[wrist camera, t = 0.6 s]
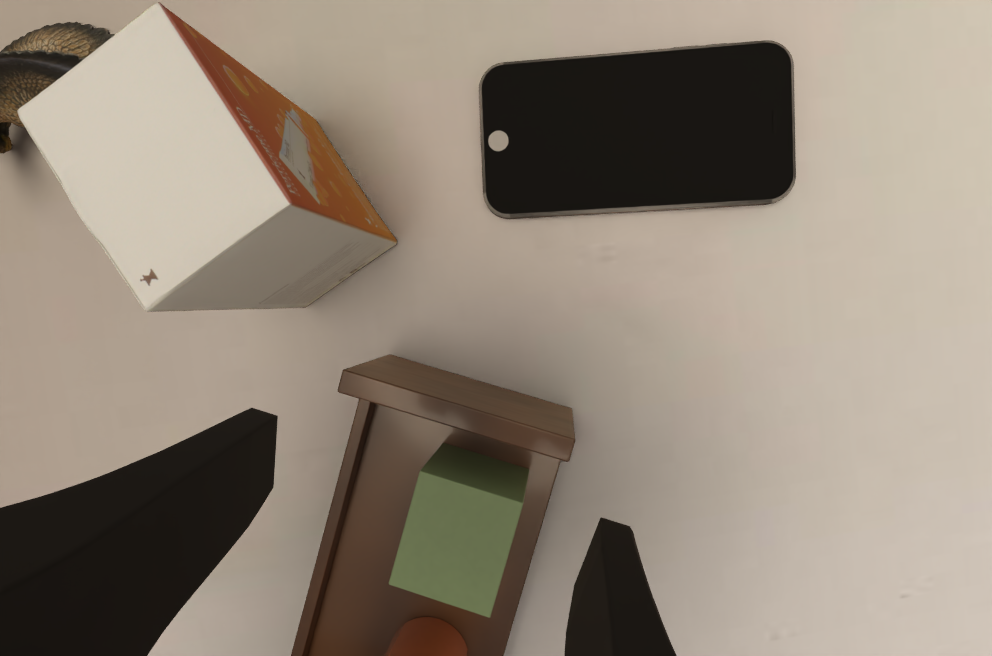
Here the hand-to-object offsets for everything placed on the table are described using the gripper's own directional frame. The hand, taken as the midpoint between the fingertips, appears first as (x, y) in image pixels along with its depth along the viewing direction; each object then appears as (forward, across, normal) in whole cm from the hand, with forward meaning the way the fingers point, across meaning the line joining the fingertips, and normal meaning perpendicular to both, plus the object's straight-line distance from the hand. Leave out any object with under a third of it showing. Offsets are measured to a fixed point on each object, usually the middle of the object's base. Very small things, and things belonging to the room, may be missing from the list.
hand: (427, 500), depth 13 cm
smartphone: (+23, -2, -5) cm, 24 cm away
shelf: (+14, +1, +16) cm, 21 cm away
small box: (+20, +12, +2) cm, 24 cm away
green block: (+13, 0, +12) cm, 18 cm away
